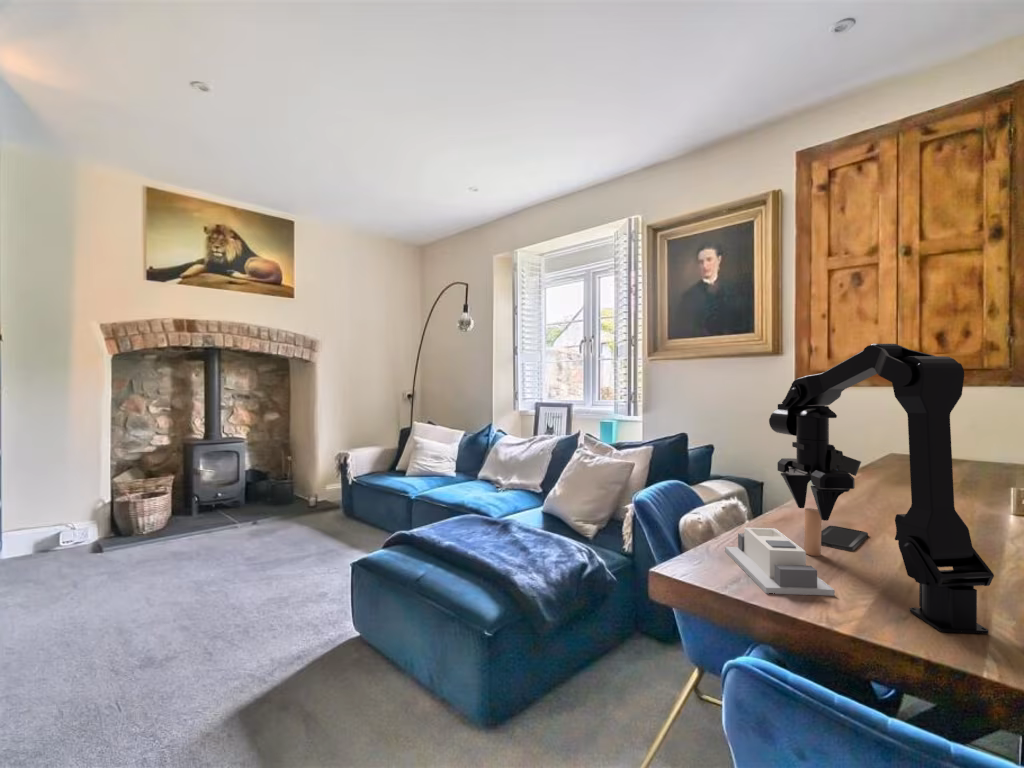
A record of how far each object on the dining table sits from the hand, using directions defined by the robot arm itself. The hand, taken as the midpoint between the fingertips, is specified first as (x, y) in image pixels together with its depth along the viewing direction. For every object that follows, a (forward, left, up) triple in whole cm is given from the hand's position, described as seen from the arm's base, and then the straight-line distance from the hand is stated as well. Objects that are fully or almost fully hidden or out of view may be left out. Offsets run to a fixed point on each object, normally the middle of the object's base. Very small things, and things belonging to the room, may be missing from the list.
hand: (812, 513), depth 100 cm
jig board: (-10, +12, -8) cm, 18 cm away
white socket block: (-9, +12, -7) cm, 17 cm away
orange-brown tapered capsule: (0, 0, -8) cm, 8 cm away
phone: (+10, -11, -9) cm, 17 cm away
